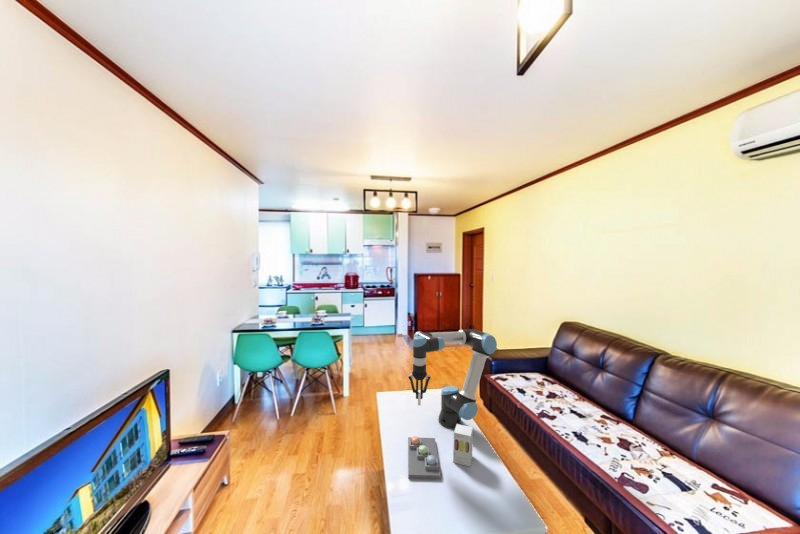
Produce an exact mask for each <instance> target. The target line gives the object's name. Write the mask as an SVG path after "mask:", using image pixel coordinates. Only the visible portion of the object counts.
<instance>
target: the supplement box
mask: <svg viewBox="0 0 800 534" xmlns="http://www.w3.org/2000/svg"><path fill="white" fill-rule="evenodd" d="M473 428H474V427H473V426H468V425H465V424H461V425H460V424H457V425H456V428H454V433H453V451H452V452H453V453H452V457H453V458H452V463H455V464H459V465H463V466H466V467H471V465H472V460H473V441H474V440H473V439H474V438H473V437H474V429H473Z"/></svg>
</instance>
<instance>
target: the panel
mask: <svg viewBox="0 0 800 534" xmlns="http://www.w3.org/2000/svg"><path fill="white" fill-rule="evenodd" d="M412 437H413V436H412ZM412 437H408V439H407V441H408V442H407V443H408V444H407V447H408V448H407V450H408V451H407V453H408V455H407V456H408V457H407V460H408V465H407V466H408V468H407V469H408V470H407V471H408V472H407V473H408V475H407V476H408V479H409V480H410V479H414V480H418V479H419V480H441V471H440V465H439V456H438V451H437V444H436V443H437V442H436V438H435V437H418V438H419V445H411V438H412ZM421 445H424V446H426V447H427V455H419V446H421ZM429 455H432V456H434V457H435V458H436V465H427V457H428V456H429Z"/></svg>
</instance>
